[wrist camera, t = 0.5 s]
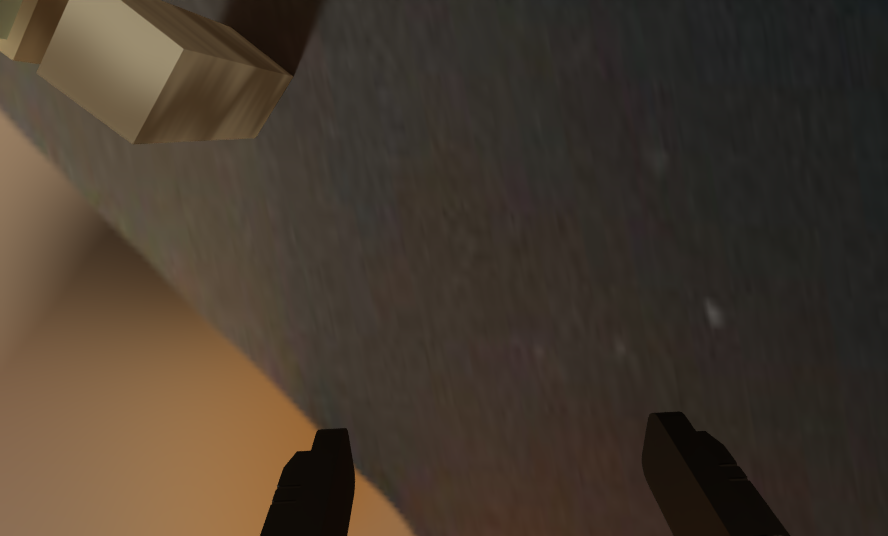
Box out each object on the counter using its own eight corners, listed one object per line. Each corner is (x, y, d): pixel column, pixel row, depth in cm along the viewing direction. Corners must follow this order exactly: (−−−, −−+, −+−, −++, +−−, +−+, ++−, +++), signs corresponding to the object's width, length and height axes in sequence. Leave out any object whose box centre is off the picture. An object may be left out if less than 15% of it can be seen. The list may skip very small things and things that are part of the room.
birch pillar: (230, 27, 29) (82, -30, 18) (293, 76, 29) (183, 49, 19) (194, 91, 30) (36, 72, 19) (255, 138, 30) (132, 144, 20)
